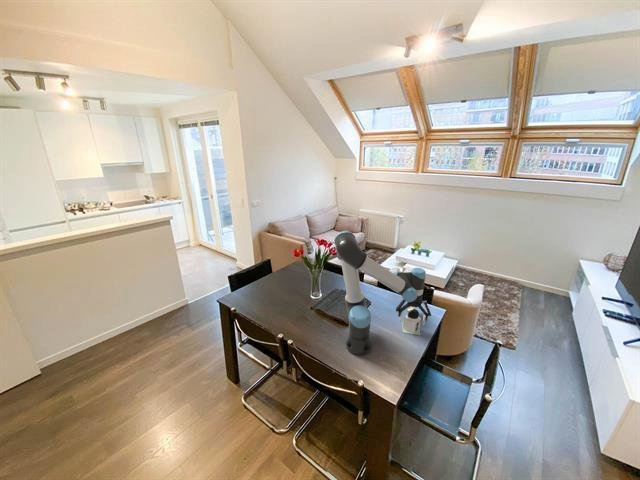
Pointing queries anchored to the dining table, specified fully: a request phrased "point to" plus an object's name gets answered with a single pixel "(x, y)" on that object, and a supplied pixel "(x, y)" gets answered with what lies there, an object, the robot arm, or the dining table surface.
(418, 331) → the mat
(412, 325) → the container
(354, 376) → the dining table surface
